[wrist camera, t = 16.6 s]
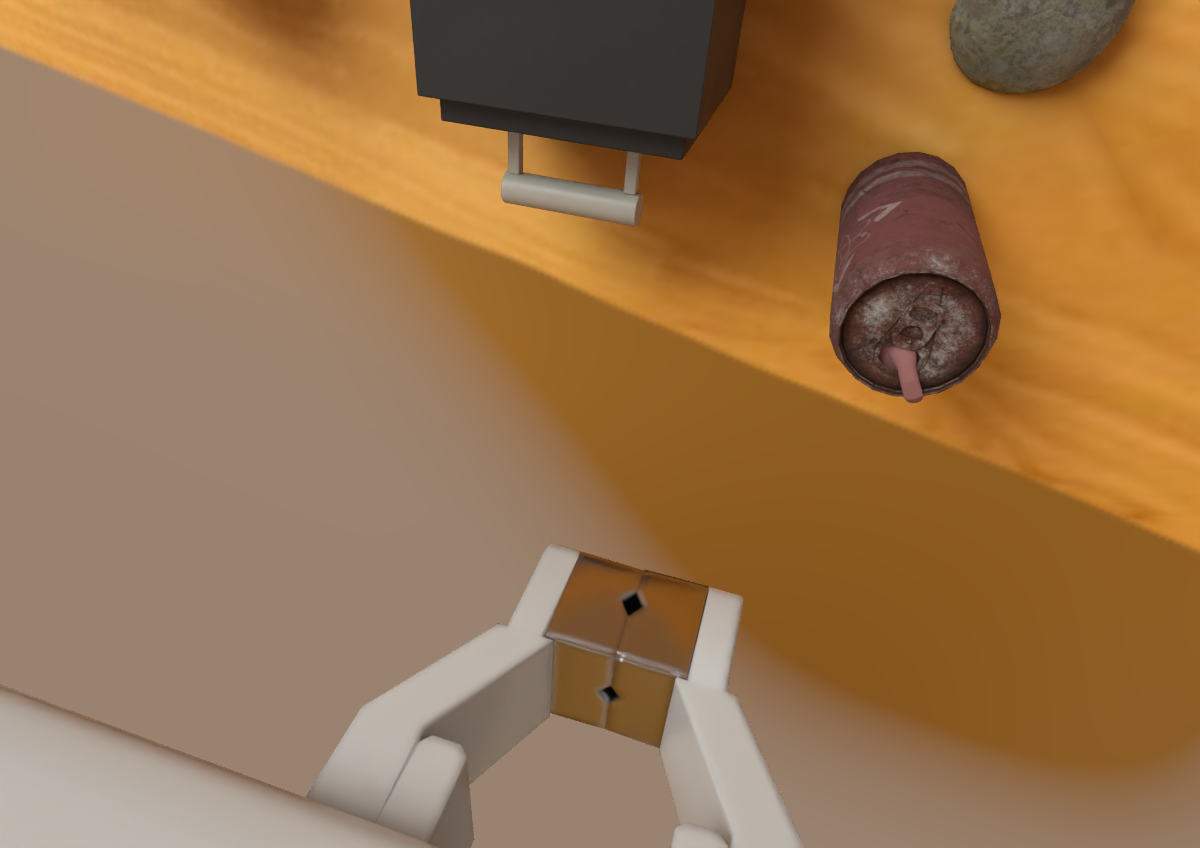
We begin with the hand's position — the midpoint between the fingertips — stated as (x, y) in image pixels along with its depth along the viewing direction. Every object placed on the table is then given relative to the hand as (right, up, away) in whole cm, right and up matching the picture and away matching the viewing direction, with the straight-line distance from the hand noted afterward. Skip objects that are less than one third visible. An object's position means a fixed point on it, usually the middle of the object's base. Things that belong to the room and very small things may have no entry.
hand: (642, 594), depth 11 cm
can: (+15, +14, +27) cm, 34 cm away
